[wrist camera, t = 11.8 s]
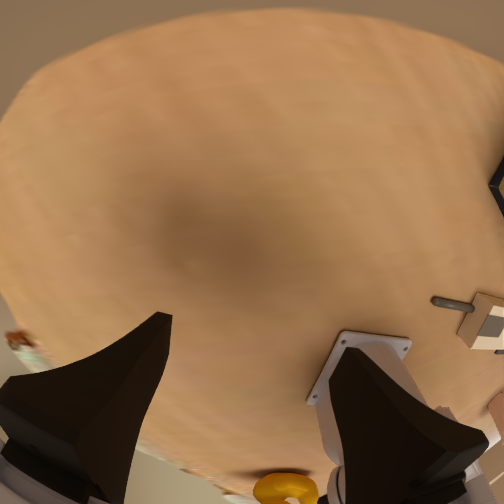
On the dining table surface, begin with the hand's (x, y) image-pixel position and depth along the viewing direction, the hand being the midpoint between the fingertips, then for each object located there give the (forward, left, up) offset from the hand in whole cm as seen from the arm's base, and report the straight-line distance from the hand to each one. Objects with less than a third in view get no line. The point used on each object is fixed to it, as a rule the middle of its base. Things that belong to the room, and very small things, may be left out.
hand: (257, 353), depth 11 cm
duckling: (-32, -11, -11) cm, 36 cm away
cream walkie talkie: (-1, -24, -10) cm, 26 cm away
